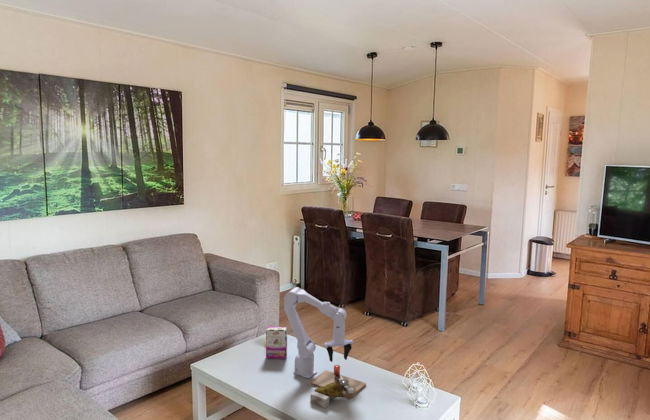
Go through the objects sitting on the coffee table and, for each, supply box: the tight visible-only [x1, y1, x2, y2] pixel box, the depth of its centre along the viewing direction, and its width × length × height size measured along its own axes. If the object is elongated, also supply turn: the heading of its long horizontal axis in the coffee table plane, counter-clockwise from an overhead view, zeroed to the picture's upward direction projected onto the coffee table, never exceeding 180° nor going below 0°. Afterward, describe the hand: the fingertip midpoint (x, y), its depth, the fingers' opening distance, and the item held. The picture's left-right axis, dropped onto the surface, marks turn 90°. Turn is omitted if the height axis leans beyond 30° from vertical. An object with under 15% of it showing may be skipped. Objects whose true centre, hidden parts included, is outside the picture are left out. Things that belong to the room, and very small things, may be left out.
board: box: [308, 370, 367, 409], centre depth 217 cm, size 23×28×4 cm
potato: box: [314, 382, 343, 399], centre depth 210 cm, size 8×13×8 cm, turn 61°
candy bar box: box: [265, 326, 288, 360], centre depth 250 cm, size 11×5×16 cm, turn 88°
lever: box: [333, 364, 354, 394], centre depth 220 cm, size 19×4×5 cm, turn 21°
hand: (338, 359), depth 227 cm, fingers open, 7 cm apart
